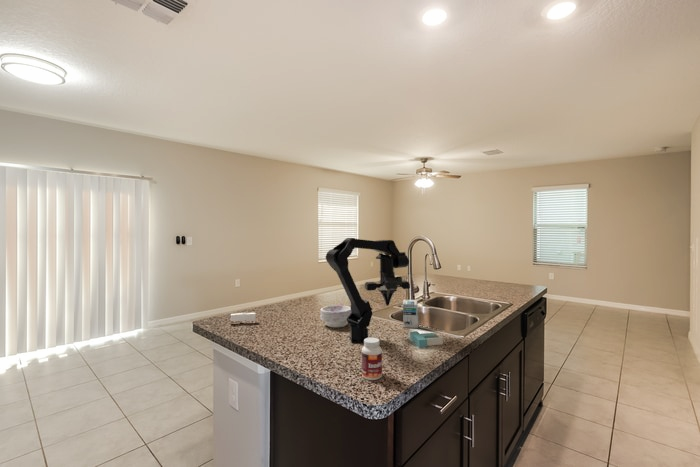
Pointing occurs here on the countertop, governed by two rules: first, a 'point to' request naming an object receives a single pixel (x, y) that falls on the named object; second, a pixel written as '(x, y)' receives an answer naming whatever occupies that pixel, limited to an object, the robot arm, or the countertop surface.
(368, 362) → the pill bottle
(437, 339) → the t dock
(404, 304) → the light bulb box
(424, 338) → the t block
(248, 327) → the countertop surface
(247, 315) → the napkin holder
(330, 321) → the paper bowls
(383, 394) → the countertop surface
